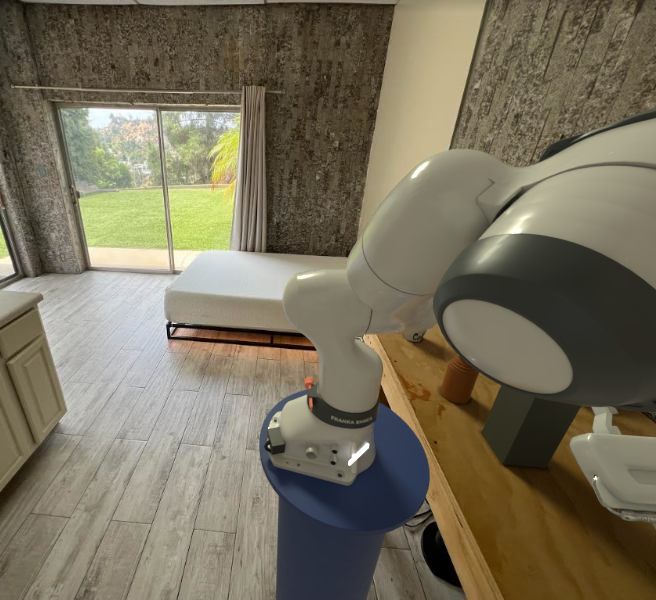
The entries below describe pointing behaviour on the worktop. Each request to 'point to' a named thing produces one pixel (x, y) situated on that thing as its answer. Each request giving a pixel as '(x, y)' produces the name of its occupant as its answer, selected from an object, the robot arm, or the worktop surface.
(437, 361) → the worktop surface
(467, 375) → the bottle
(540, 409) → the stand
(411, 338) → the cup
